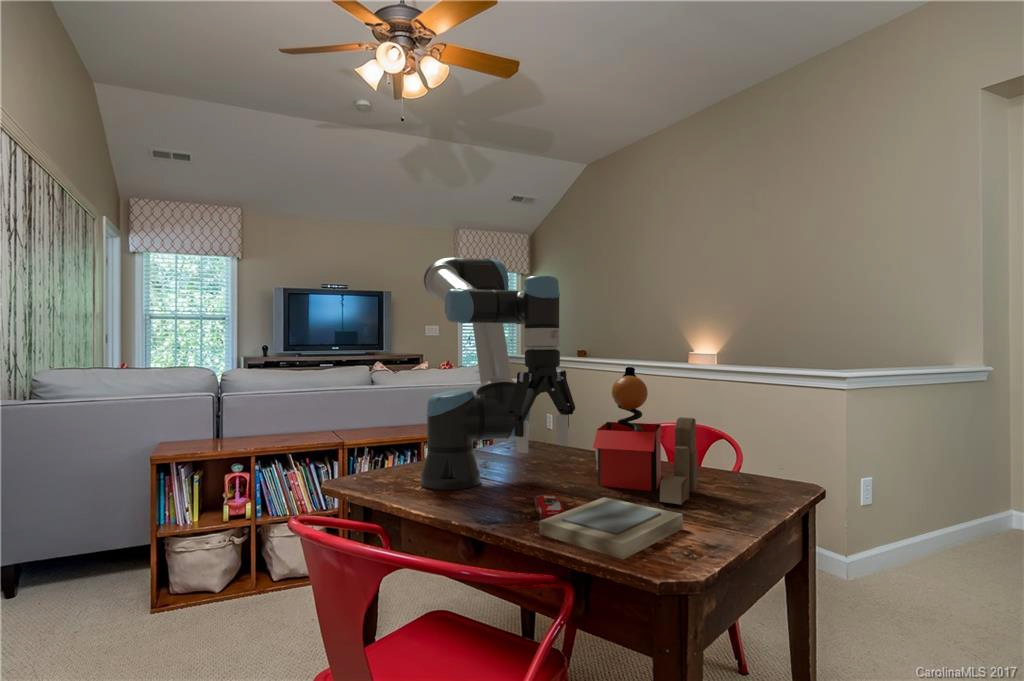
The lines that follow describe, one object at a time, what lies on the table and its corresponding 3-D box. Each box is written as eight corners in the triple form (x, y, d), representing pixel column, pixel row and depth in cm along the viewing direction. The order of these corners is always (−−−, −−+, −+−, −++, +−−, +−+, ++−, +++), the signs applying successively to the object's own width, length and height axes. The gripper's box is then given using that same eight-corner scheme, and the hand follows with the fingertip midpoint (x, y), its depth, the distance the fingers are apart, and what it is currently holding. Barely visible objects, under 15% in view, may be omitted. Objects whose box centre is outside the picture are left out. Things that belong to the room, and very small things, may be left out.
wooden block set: (674, 488, 141) (674, 416, 141) (698, 491, 138) (697, 418, 138) (655, 505, 126) (655, 425, 126) (681, 509, 123) (680, 427, 124)
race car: (532, 504, 125) (532, 486, 125) (556, 504, 125) (556, 486, 125) (539, 526, 112) (538, 506, 112) (566, 525, 112) (566, 505, 112)
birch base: (539, 537, 106) (539, 519, 106) (604, 511, 122) (604, 495, 122) (622, 561, 94) (622, 541, 94) (682, 529, 110) (682, 511, 110)
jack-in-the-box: (607, 469, 163) (606, 365, 163) (663, 473, 157) (662, 365, 157) (588, 491, 138) (588, 369, 138) (653, 497, 133) (653, 370, 133)
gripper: (516, 348, 109) (517, 458, 109) (590, 348, 128) (591, 442, 127) (488, 349, 115) (489, 454, 114) (563, 348, 133) (564, 439, 133)
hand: (543, 448), depth 121 cm, fingers open, 13 cm apart
